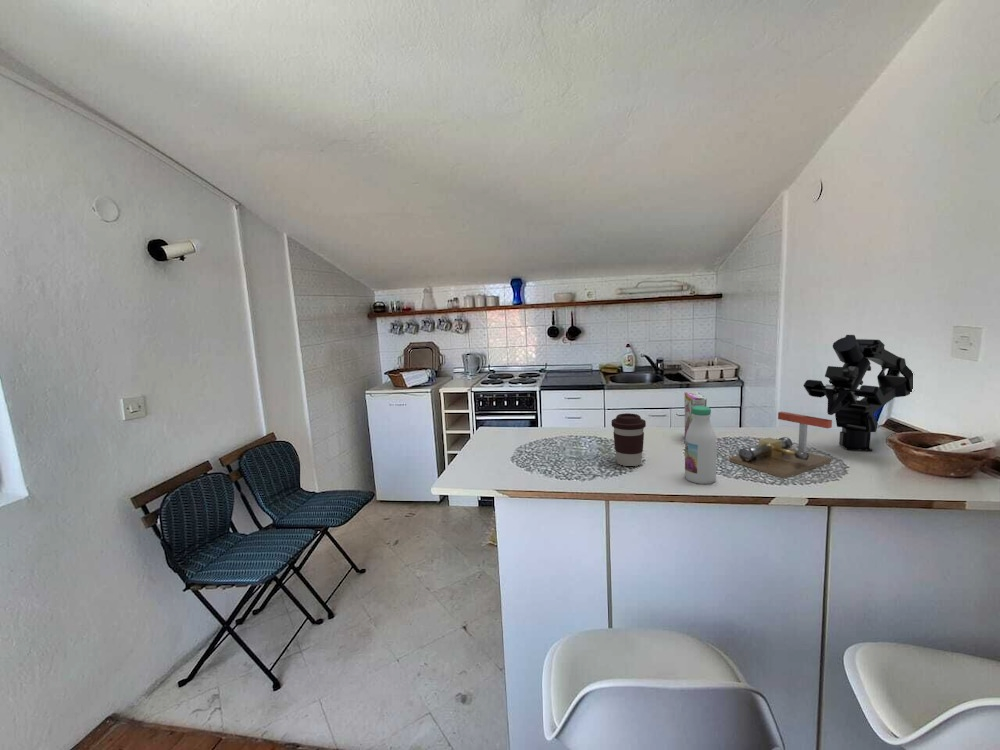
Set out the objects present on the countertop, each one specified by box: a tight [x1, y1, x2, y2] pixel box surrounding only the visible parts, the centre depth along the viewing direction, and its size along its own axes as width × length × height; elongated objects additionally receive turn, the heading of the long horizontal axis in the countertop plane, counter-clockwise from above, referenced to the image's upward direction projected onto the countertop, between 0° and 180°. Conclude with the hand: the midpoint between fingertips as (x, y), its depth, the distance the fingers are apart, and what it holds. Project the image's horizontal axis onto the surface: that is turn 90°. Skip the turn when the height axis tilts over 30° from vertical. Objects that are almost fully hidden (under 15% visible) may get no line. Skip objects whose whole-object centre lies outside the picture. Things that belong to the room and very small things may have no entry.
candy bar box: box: [684, 391, 707, 438], centre depth 147 cm, size 11×5×16 cm, turn 168°
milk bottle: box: [684, 406, 718, 485], centre depth 114 cm, size 8×8×20 cm
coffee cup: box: [611, 412, 647, 467], centre depth 129 cm, size 10×10×15 cm
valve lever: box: [777, 411, 833, 460], centre depth 120 cm, size 2×13×13 cm, turn 26°
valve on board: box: [728, 436, 832, 479], centre depth 124 cm, size 22×16×5 cm
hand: (829, 414), depth 124 cm, fingers closed
